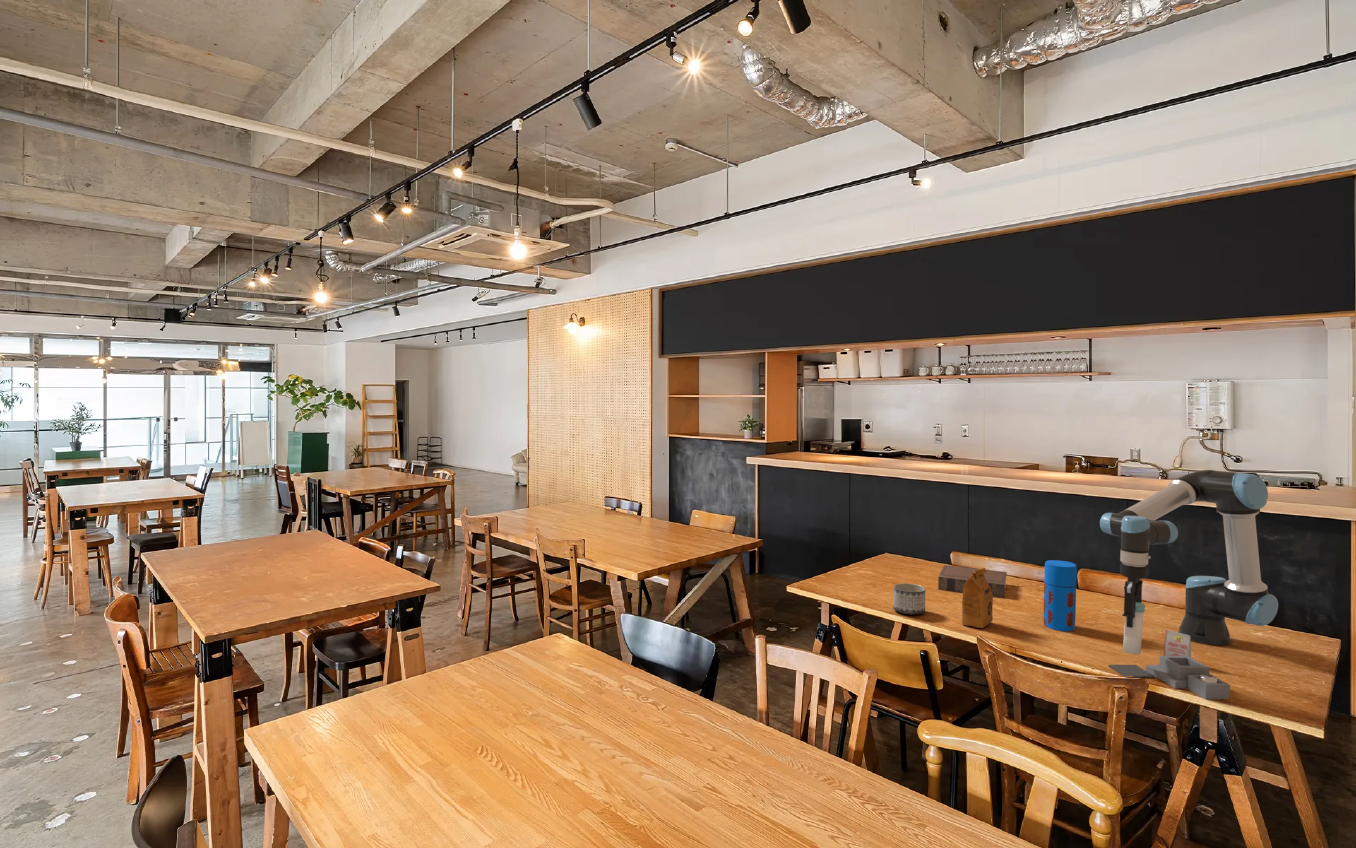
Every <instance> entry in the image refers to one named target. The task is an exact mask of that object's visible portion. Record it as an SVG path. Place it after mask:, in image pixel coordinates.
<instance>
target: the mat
mask: <svg viewBox="0 0 1356 848" xmlns="http://www.w3.org/2000/svg"><path fill="white" fill-rule="evenodd" d="M1108 667H1109V668H1110V669H1112V670H1113V669H1114V671H1115V672H1117V673H1118V674H1120V675H1121V676H1123V677H1124V676H1133V677H1145V678H1144V679H1154V678H1156V677H1155V676H1154V675H1152V674H1150V673H1149V672H1147V671H1146V669H1144V668H1143V667H1140V666H1139V665H1137V664H1108Z"/></svg>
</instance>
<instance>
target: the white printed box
mask: <svg viewBox="0 0 1356 848" xmlns="http://www.w3.org/2000/svg"><path fill="white" fill-rule="evenodd" d="M1163 656H1188V657H1190V658H1192V641H1191V638H1190V635H1186V634H1182V633H1179V632H1177V631H1172V630H1167V629H1166V630H1165V634H1164V641H1163Z"/></svg>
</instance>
